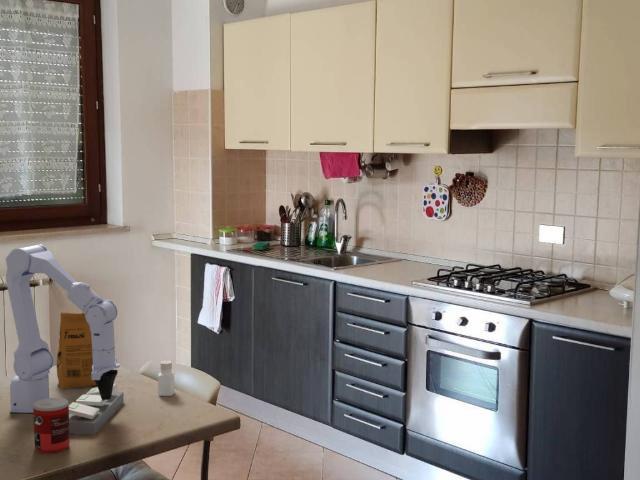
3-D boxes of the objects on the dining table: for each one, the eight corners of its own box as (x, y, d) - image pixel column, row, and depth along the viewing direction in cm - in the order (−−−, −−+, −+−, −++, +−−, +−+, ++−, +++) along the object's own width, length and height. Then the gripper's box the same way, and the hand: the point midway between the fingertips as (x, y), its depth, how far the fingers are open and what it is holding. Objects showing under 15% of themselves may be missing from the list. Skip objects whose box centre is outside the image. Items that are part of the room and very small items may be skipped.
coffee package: (57, 380, 238) (55, 308, 236) (100, 377, 242) (98, 306, 239) (57, 390, 229) (54, 316, 226) (101, 387, 233) (99, 313, 230)
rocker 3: (64, 416, 197) (65, 408, 197) (71, 409, 202) (73, 401, 202) (91, 423, 197) (93, 415, 197) (98, 416, 202) (99, 408, 202)
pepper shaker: (171, 396, 225) (171, 364, 224) (157, 396, 225) (157, 364, 224) (174, 392, 229) (174, 360, 228) (161, 392, 229) (160, 360, 228)
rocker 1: (87, 401, 213) (85, 393, 213) (93, 395, 218) (92, 387, 218) (112, 396, 213) (110, 388, 213) (118, 390, 218) (116, 382, 218)
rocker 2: (76, 408, 205) (75, 400, 205) (82, 401, 210) (82, 393, 210) (102, 409, 205) (102, 401, 205) (108, 403, 210) (108, 395, 210)
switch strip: (58, 433, 196) (58, 421, 196) (95, 397, 224) (95, 387, 223) (94, 434, 196) (94, 422, 196) (127, 398, 223) (127, 388, 223)
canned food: (39, 441, 191) (37, 397, 190) (73, 441, 192) (71, 397, 190) (30, 454, 183) (28, 408, 182) (65, 453, 184) (64, 408, 183)
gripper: (109, 355, 198) (112, 408, 200) (127, 341, 213) (129, 390, 214) (82, 355, 199) (85, 408, 200) (101, 341, 213) (103, 390, 215)
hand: (106, 399), depth 207 cm, fingers closed, pressing on rocker 2
